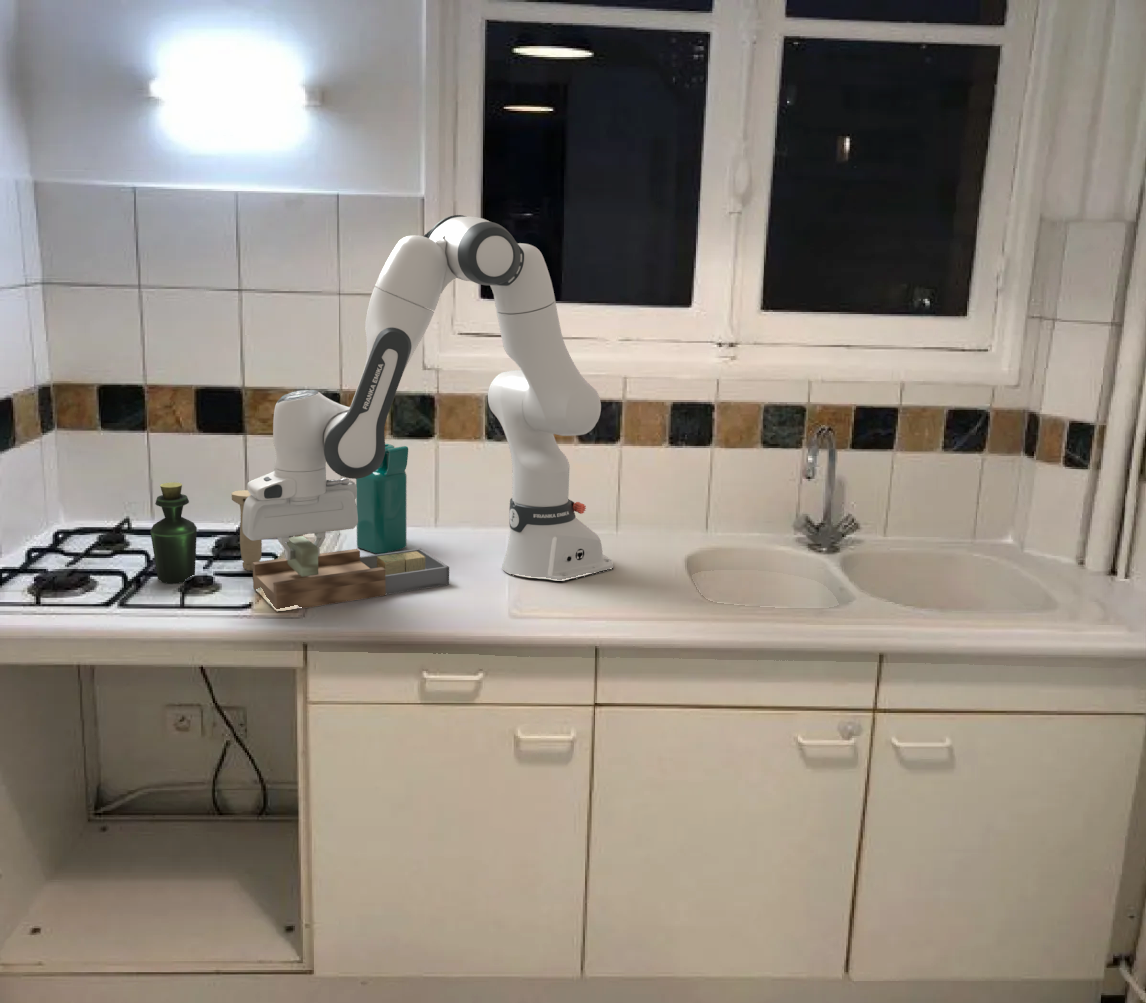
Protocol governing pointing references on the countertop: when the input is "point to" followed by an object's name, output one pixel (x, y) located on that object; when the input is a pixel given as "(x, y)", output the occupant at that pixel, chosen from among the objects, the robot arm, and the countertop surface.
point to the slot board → (319, 581)
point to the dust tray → (413, 574)
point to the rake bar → (303, 556)
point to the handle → (248, 547)
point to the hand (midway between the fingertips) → (302, 557)
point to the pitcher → (383, 504)
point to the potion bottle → (173, 537)
